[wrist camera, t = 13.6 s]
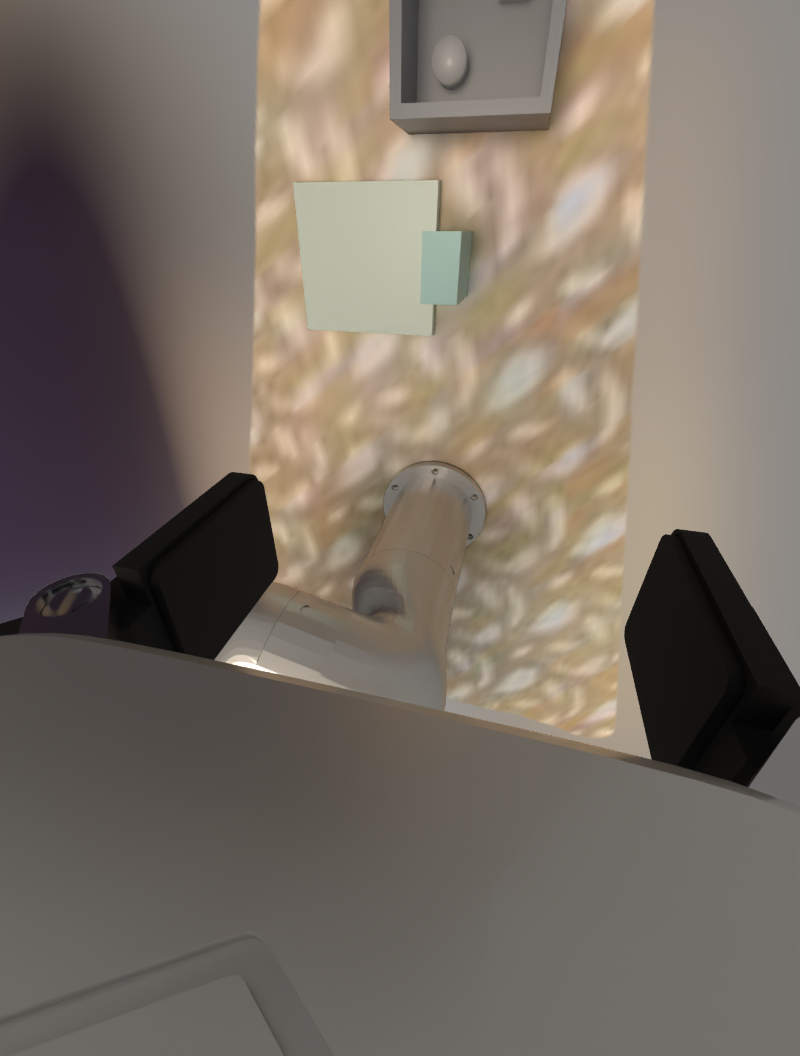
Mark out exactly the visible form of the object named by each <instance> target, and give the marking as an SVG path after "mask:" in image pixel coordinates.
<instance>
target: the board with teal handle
mask: <svg viewBox="0 0 800 1056" xmlns="http://www.w3.org/2000/svg"><path fill="white" fill-rule="evenodd" d="M293 186H294V196H295V205H296V215H297V225H298V235H299V245H300V255H301V265H302V275H303V285H304V294H305V304H306V314H307V324H308V329H311V330H330V331H348V332H366V333H384V334H402V335H420V336H432V335H433V334H434V323H435V305H457V304H459V303H460V302H461V301H462V300H463V299H464V298H465V297H466V296H467V293H468V281H469V268H470V256H471V243H472V231H439V212H440V189H441V181H439V180H415V181H357V182H299V183H293Z"/></svg>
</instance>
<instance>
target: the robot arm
mask: <svg viewBox="0 0 800 1056" xmlns="http://www.w3.org/2000/svg"><path fill="white" fill-rule="evenodd" d="M435 468H437V469H438V470H435ZM395 484H396V485H397V486H396V485H395ZM473 494H475V495H476V496H475V495H473ZM383 510H384V514H385V518H386V519H385V521H384V523H383V525H382V527H381V529H380V531H379V533H378V534H377V536H376V538H375V540H374V542H373V544H372V546H371V548H370V550H369V552H368V554H367V556H366V558H365V560H364V562H363V564H362V566H361V568H360V570H359V572H358V574H357V576H356V578H355V581H354V585H353V590H352V608H353V610H351V609H348V608H345V607H343V606H340V605H338V604H335V603H333V602H330V601H327V600H325V599H322V598H320V597H317V596H315V595H312V594H309V593H307V592H304V591H301V590H298V589H296V588H293V587H290V586H287V585H284V584H281V583H276V582H273V581H274V579H275V578H276V576H277V573H278V560H277V555H276V549H275V544H274V538H273V533H272V528H271V522H270V517H269V511H268V506H267V500H266V495H265V489H264V485H263V483H262V482H260V481H258V479H257V477H256V476H255V475H252V474H243V473H236V472H231V473H229V474H228V475H227V476H225V477H224V478H223V479H221V480H220V481H219V482H218V483H216V484H215V485H214V486H213V487H211V488H210V489H209V490H208V491H206V492H205V493H204V494H203V495H201V496H200V497H199V498H198V499H197V500H195V501H194V502H192V503H191V504H190V505H189V506H187V507H186V508H185V509H184V510H182V511H181V512H180V513H179V514H177V515H176V516H175V517H174V518H172V519H171V520H170V521H168V522H167V523H166V524H165V525H163V526H162V527H161V528H160V529H159V530H157V531H156V532H155V533H154V534H152V535H151V536H150V537H148V538H147V539H146V540H145V541H143V542H142V543H141V544H140V545H138V546H137V547H136V548H134V549H133V550H132V551H131V552H129V553H128V554H127V555H126V556H124V557H123V558H122V559H121V560H119V561H118V562H117V563H116V564H114V565H113V568H114V570H115V573H116V575H117V577H116V578H115V579H113V580H112V581H111V582H110V580H109V579H108V578H107V577H106V576H104V575H101V574H97V573H83V574H77V575H72V576H69V577H66V578H62V579H60V580H57V581H55V582H53V583H51V584H49V585H47V586H46V587H44V588H43V589H41V590H40V591H38V592H37V593H36V594H35V595H34V596H33V597H32V598H31V599H30V600H29V602H28V604H27V606H26V608H25V611H24V615H23V617H21V618H18V619H15V620H11V621H8V622H5V623H2V624H0V1056H800V687H799V685H798V683H797V681H796V680H795V678H794V676H793V675H792V673H791V671H790V670H789V668H788V666H787V664H786V663H785V661H784V659H783V658H782V656H781V654H780V652H779V651H778V649H777V647H776V646H775V644H774V643H773V641H772V639H771V637H770V636H769V634H768V632H767V630H766V629H765V627H764V625H763V624H762V622H761V620H760V619H759V617H758V615H757V613H756V612H755V610H754V609H753V607H752V606H751V605H750V603H749V602H748V600H747V598H746V596H745V594H744V593H743V591H742V589H741V588H740V586H739V584H738V582H737V581H736V579H735V577H734V576H733V574H732V572H731V571H730V569H729V567H728V565H727V564H726V562H725V561H724V559H723V557H722V555H721V554H720V552H719V550H718V548H717V547H716V545H715V543H714V542H713V540H712V538H711V537H710V535H709V534H708V533H704V532H696V531H688V530H679V529H676V530H674V531H673V533H672V534H671V535H666V534H665V535H664V536H662V538H661V540H660V542H659V544H658V547H657V549H656V552H655V554H654V557H653V559H652V561H651V564H650V567H649V569H648V571H647V574H646V576H645V579H644V581H643V584H642V586H641V589H640V591H639V594H638V596H637V598H636V601H635V603H634V606H633V608H632V611H631V613H630V616H629V618H628V620H627V623H626V626H625V634H624V635H625V643H626V647H627V652H628V657H629V661H630V665H631V670H632V674H633V679H634V683H635V688H636V692H637V696H638V701H639V705H640V710H641V714H642V718H643V723H644V727H645V732H646V736H647V741H648V745H649V749H650V754H651V758H652V760H651V759H647V758H643V757H639V756H634V755H630V754H626V753H622V752H618V751H614V750H610V749H606V748H601V747H597V746H594V745H589V744H585V743H581V742H577V741H573V740H568V739H564V738H559V737H555V736H551V735H547V734H542V733H538V732H534V731H529V730H525V729H520V728H516V727H512V726H507V725H503V724H498V723H494V722H489V721H485V720H481V719H476V718H472V717H468V716H464V715H459V714H455V713H450V712H446V711H444V709H445V703H446V690H447V669H446V652H447V639H448V631H449V625H450V620H451V614H452V609H453V605H454V599H455V595H456V590H457V585H458V581H459V576H460V571H461V567H462V562H463V557H464V553H465V548H466V547H467V546H468V545H469V544H471V543H472V542H473V541H474V540H475V539H476V538H477V537H478V535H479V534H480V532H481V530H482V528H483V525H484V521H485V515H486V506H485V500H484V497H483V494H482V492H481V490H480V489H479V487H478V485H477V484H476V483H475V482H474V481H473V479H472V478H471V477H469V476H468V475H467V474H466V473H465V472H463V471H461V470H460V469H458V468H456V467H454V466H451V465H448V464H445V463H439V462H421V463H416V464H413V465H411V466H408V467H406V468H404V469H403V470H402V471H400V472H399V473H398V474H397V475H396V476H395V477H394V478H393V479H392V480H391V482H390V484H389V485H388V487H387V490H386V492H385V495H384V500H383Z"/></svg>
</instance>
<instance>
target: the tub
mask: <svg viewBox="0 0 800 1056" xmlns="http://www.w3.org/2000/svg"><path fill="white" fill-rule="evenodd" d="M566 4H567V0H390V120H391V121H393V122H394V123H395V124H396V125H398V126H399V127H400V128H401V129H403V130H404V131H405V132H406V133H408V134H438V133H469V132H500V131H530V130H548V127H549V120H550V113H551V106H552V99H553V93H554V86H555V79H556V72H557V65H558V58H559V52H560V45H561V38H562V31H563V24H564V17H565V11H566Z"/></svg>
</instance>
